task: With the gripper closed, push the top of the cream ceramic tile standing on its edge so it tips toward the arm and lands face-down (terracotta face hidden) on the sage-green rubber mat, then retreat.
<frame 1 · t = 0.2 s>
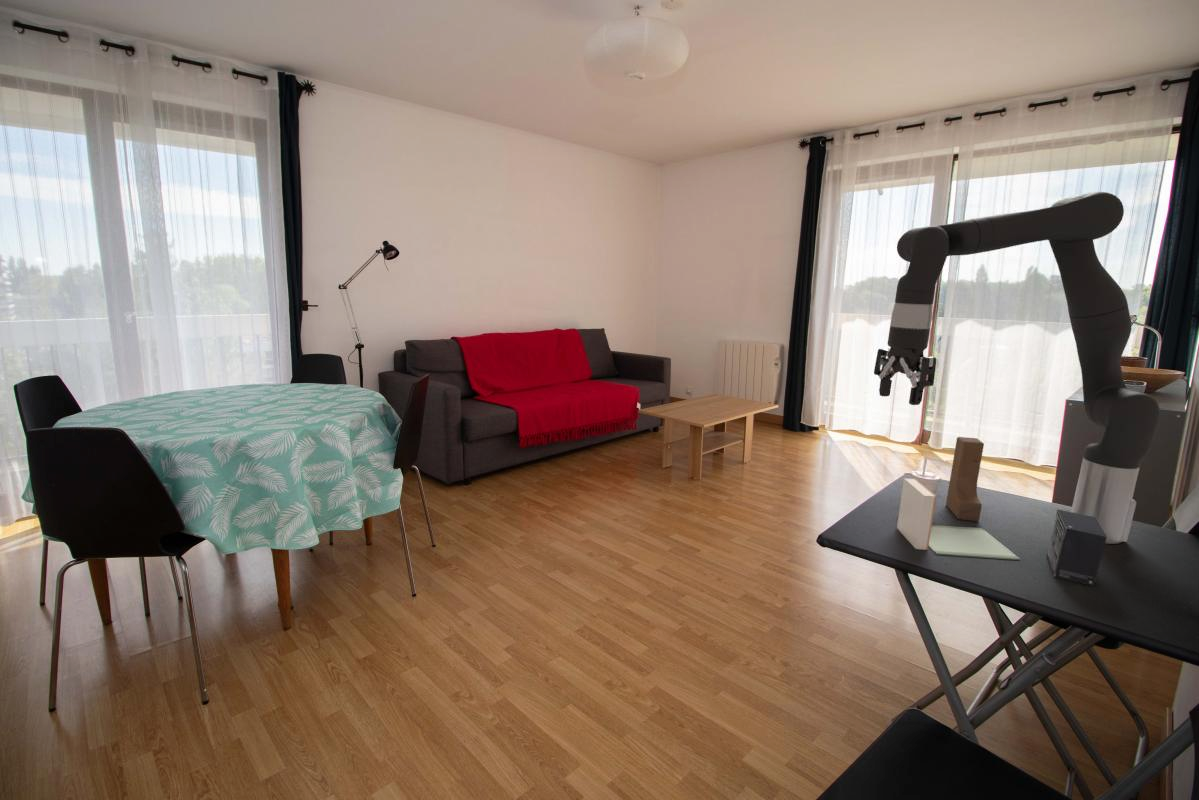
hand: (898, 400, 121), 30 cm above the table, fingers open, 8 cm apart
tile: (911, 538, 122), on the table
wooden block: (961, 514, 135), on the table
smoothie: (920, 513, 136), on the table
small box: (1069, 571, 109), on the table
mat: (960, 541, 121), on the table
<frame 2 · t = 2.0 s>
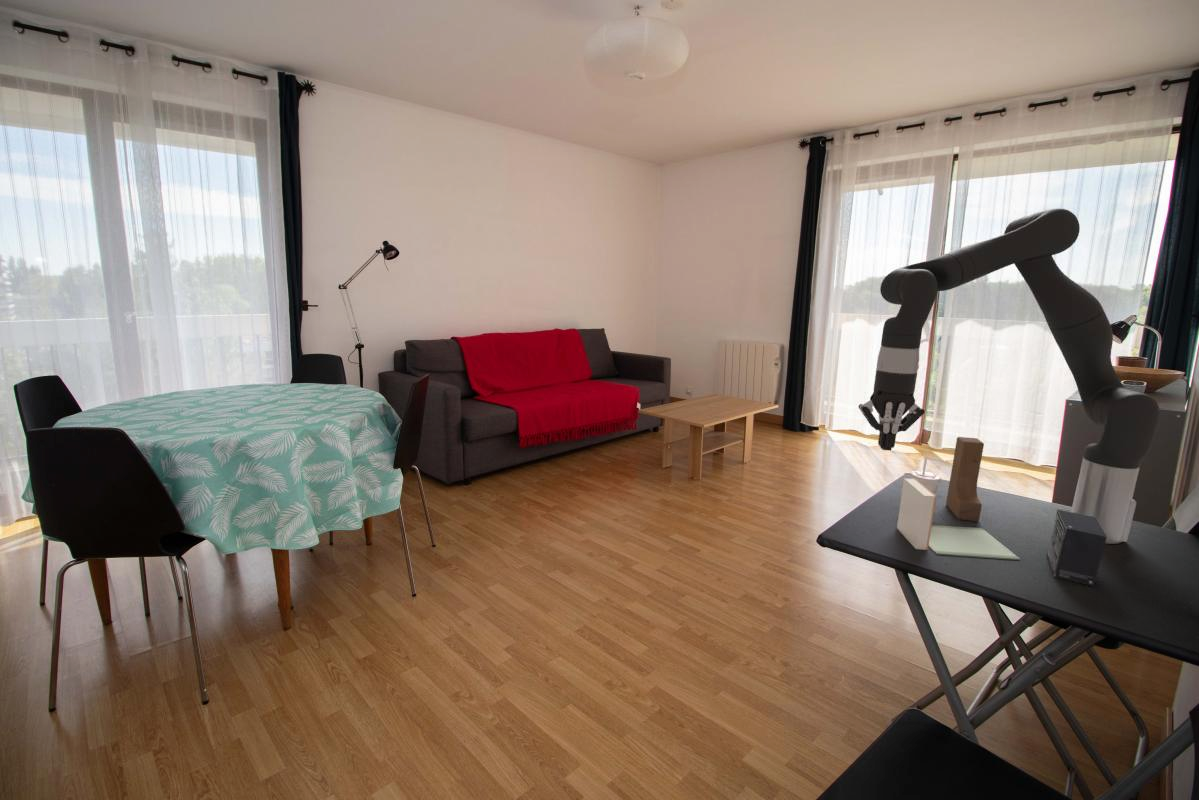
hand: (885, 449, 118), 20 cm above the table, fingers closed
nothing on the table moved.
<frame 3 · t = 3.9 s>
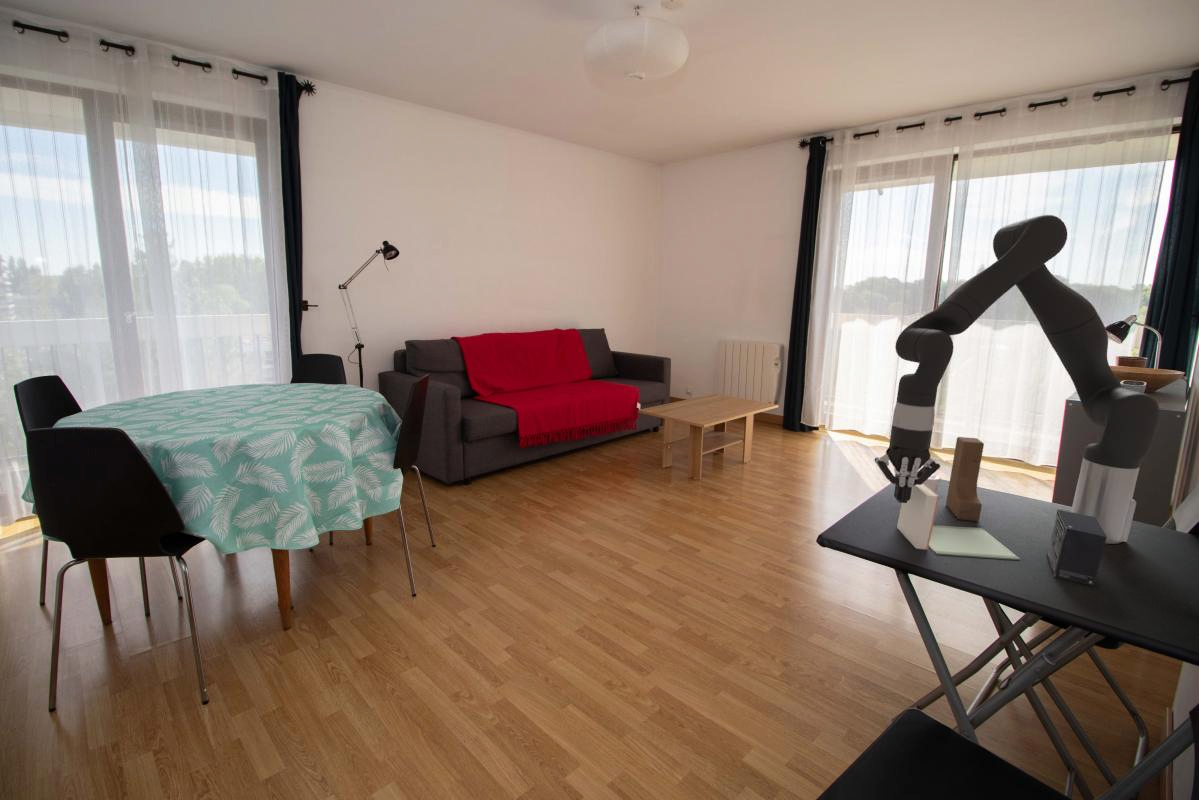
hand: (901, 501, 120), 8 cm above the table, fingers closed
nothing on the table moved.
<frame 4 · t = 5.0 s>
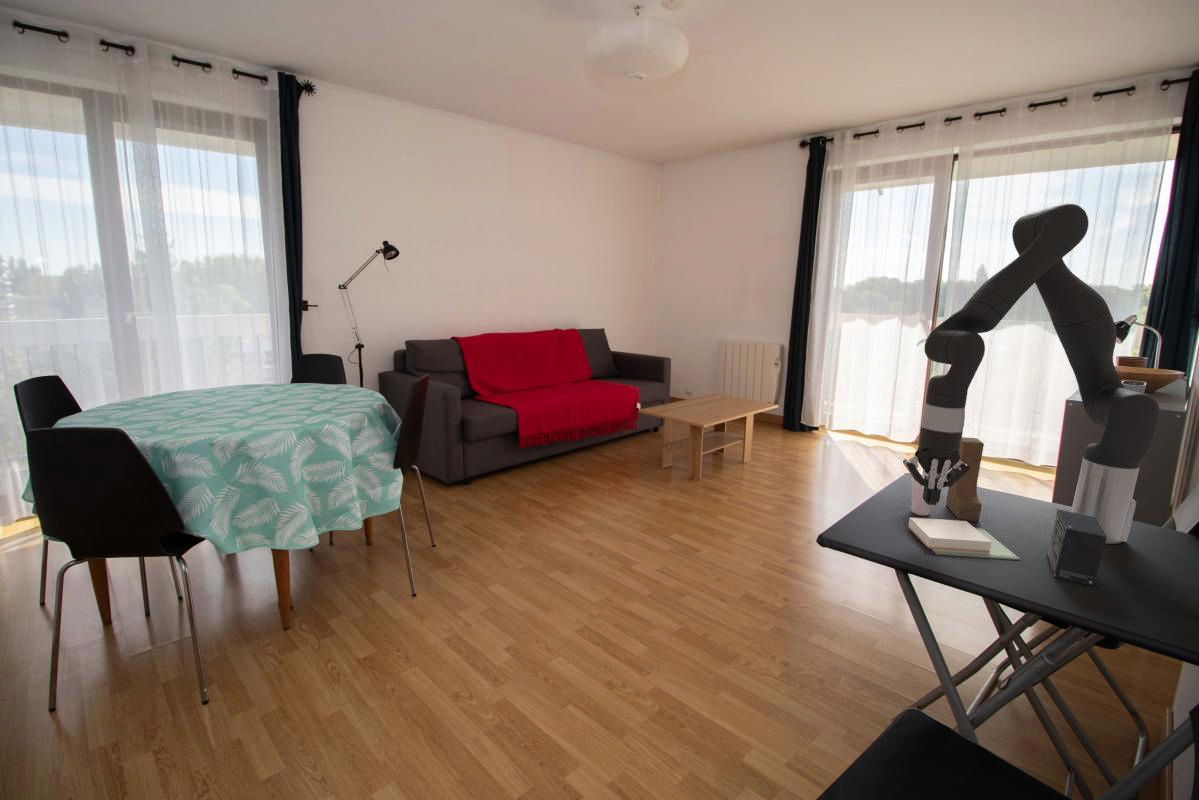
hand: (930, 503, 120), 8 cm above the table, fingers closed
tile: (918, 532, 121), point 1 cm above the table, tilted 90°, touching mat
everything else where it was.
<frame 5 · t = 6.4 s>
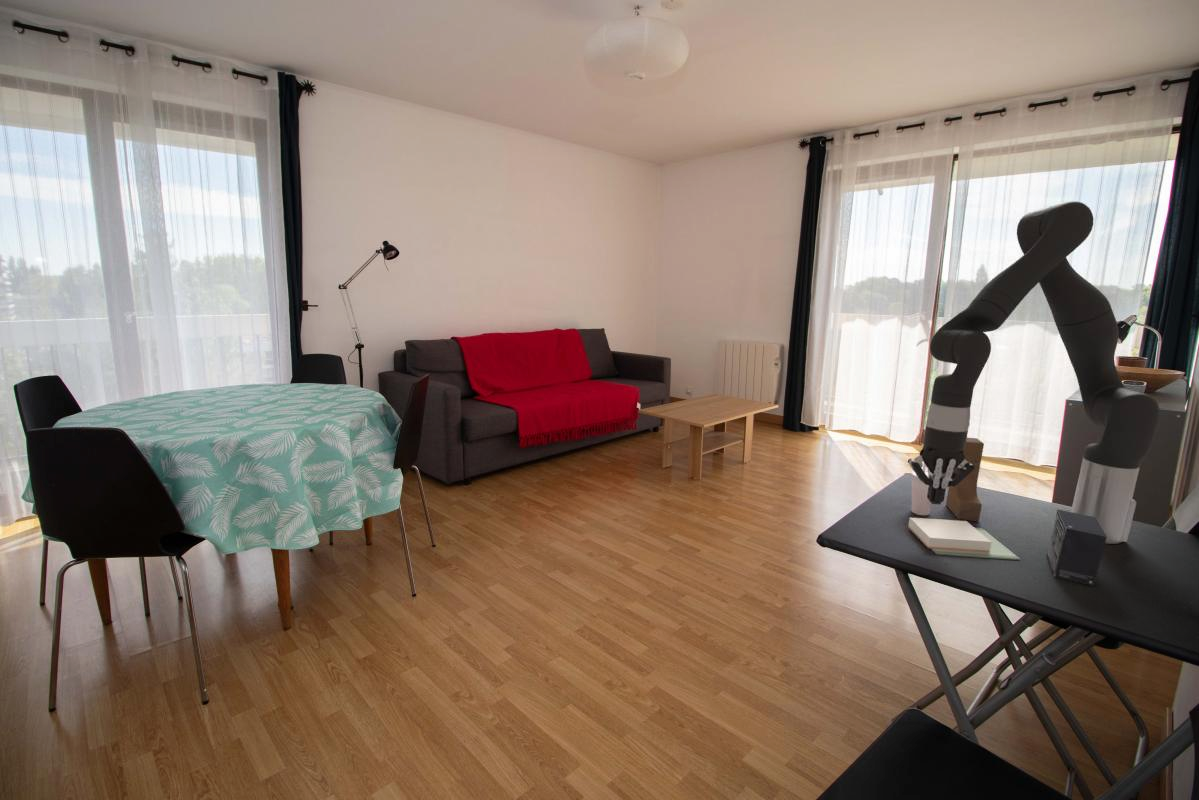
hand: (934, 503, 120), 9 cm above the table, fingers closed
nothing on the table moved.
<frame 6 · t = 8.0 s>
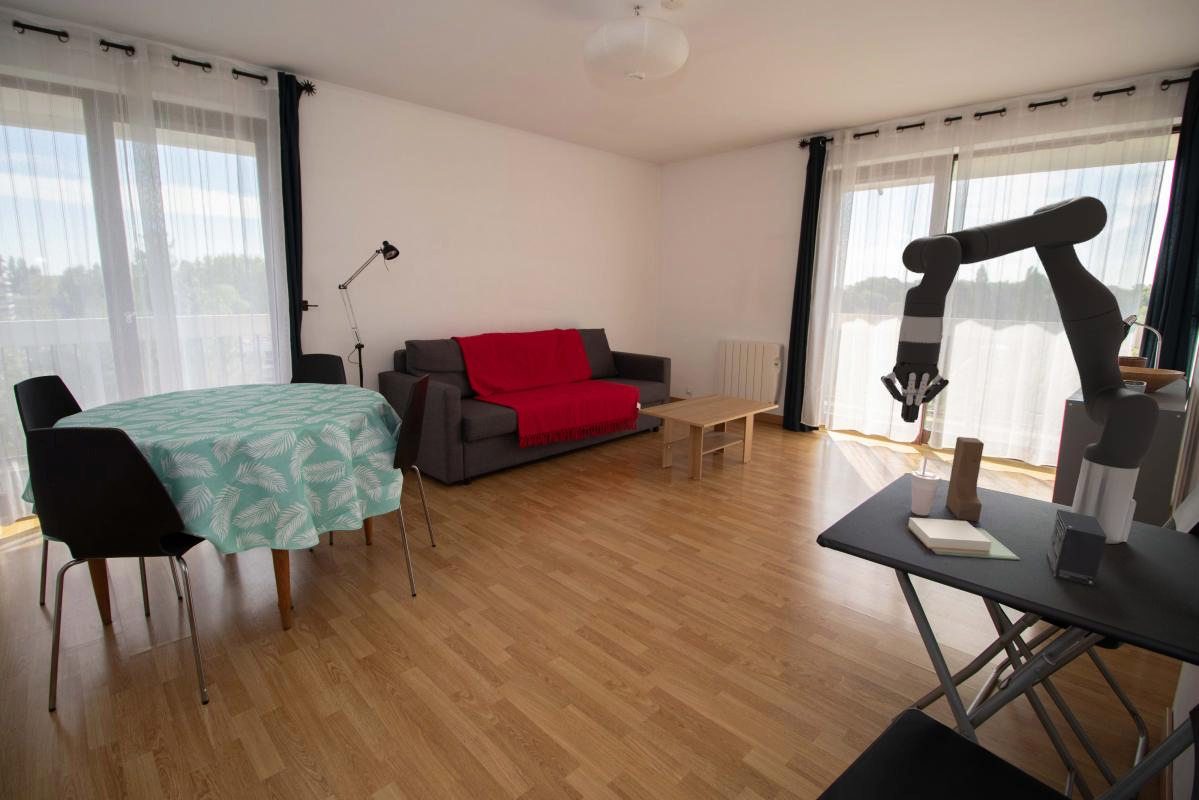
hand: (908, 421, 116), 26 cm above the table, fingers closed
nothing on the table moved.
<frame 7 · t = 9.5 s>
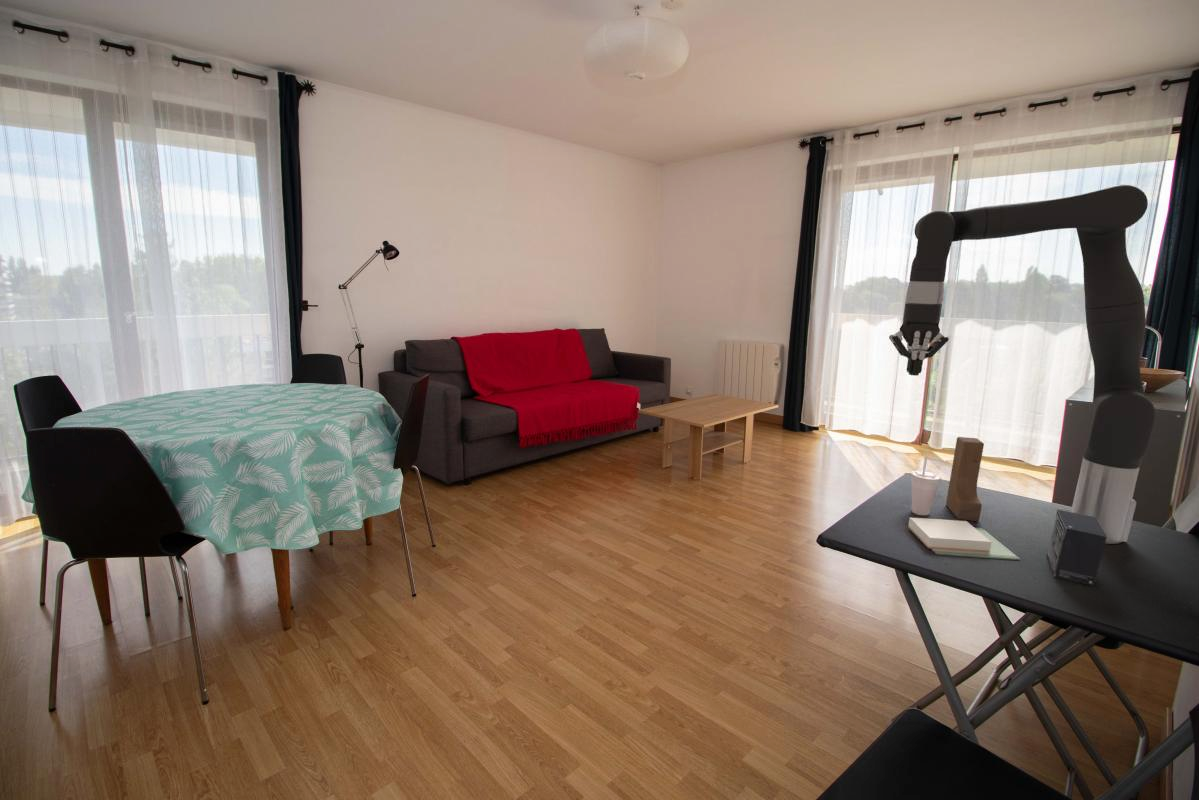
hand: (913, 374, 133), 33 cm above the table, fingers closed
nothing on the table moved.
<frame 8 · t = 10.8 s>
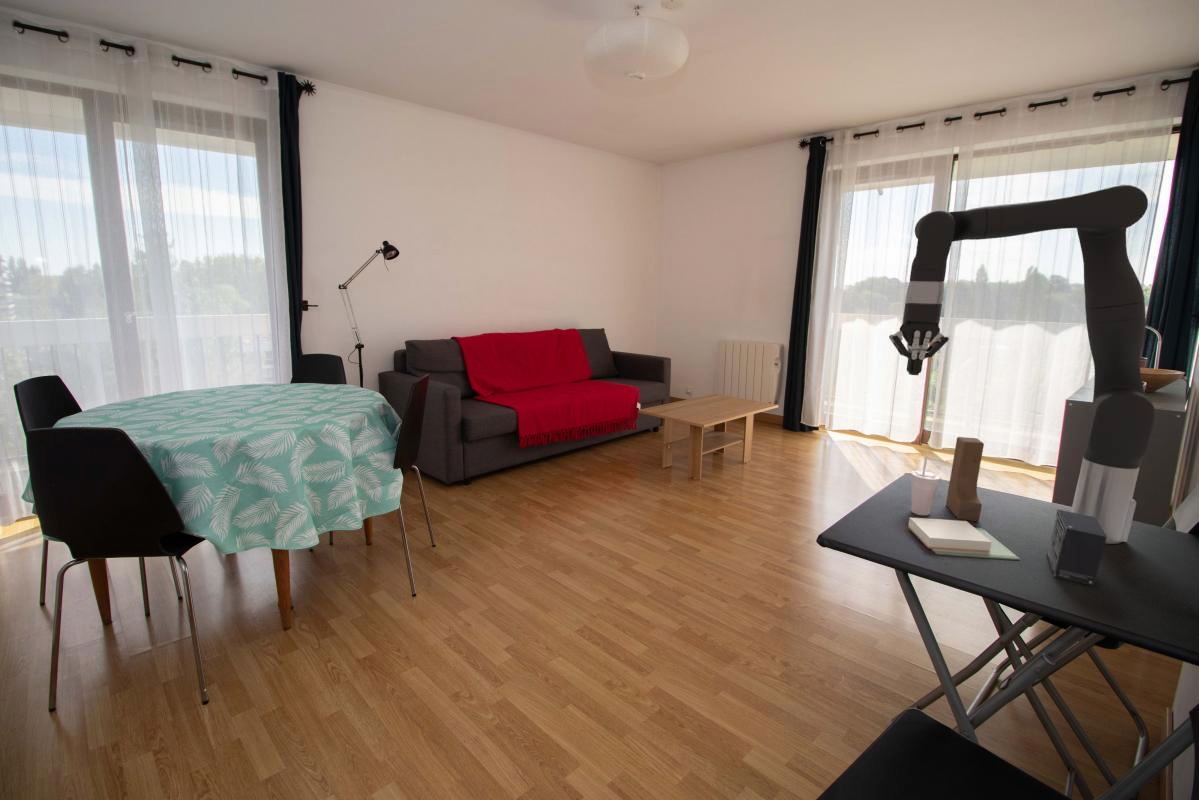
hand: (913, 374, 134), 33 cm above the table, fingers closed
nothing on the table moved.
at the end: tile tilted 90°; tile inside the target area (6.3 cm from its centre), point 1.5 cm above the table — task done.
